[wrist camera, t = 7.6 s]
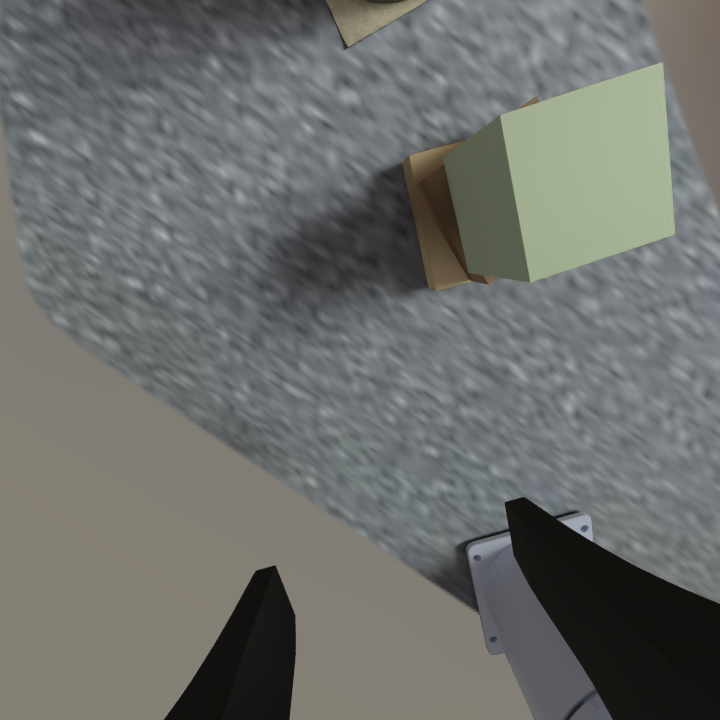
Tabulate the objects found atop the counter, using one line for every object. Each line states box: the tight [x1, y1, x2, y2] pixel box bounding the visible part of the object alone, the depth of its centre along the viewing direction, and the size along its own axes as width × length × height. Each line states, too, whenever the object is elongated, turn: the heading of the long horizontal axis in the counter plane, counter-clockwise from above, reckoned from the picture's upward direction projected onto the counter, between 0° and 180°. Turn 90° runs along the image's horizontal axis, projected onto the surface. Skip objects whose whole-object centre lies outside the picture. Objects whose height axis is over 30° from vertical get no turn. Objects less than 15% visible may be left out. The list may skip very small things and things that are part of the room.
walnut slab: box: [414, 96, 539, 284], centre depth 17 cm, size 5×5×2 cm
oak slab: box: [403, 140, 470, 291], centre depth 19 cm, size 6×6×2 cm
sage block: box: [443, 62, 675, 282], centre depth 13 cm, size 4×4×5 cm
